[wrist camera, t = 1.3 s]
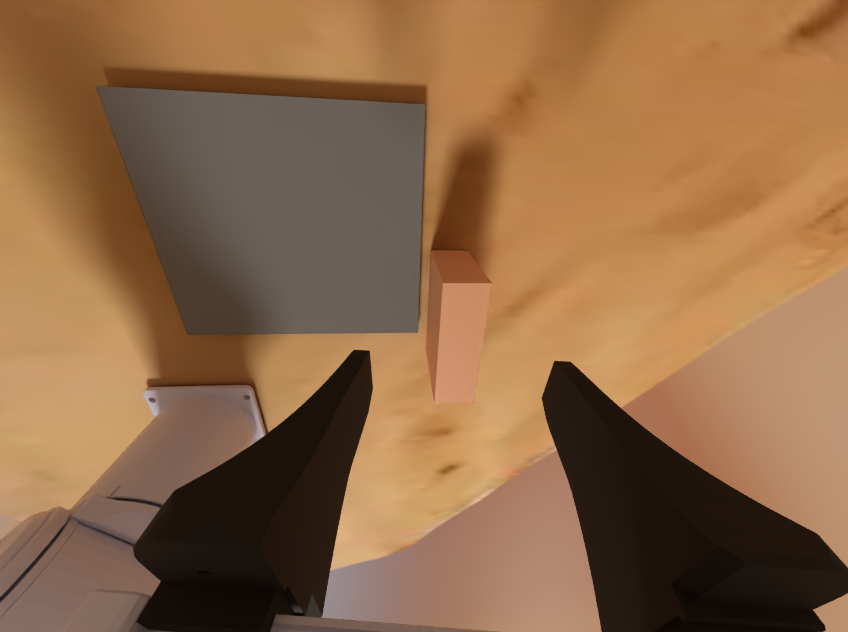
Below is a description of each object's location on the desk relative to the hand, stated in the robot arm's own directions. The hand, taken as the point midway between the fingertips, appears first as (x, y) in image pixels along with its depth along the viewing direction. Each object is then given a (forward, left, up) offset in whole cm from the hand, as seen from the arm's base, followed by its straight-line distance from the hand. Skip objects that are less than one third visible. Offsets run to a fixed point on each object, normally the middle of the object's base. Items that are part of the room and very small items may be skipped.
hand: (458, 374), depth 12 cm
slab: (-2, -1, -11) cm, 11 cm away
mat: (+3, +9, -11) cm, 14 cm away
